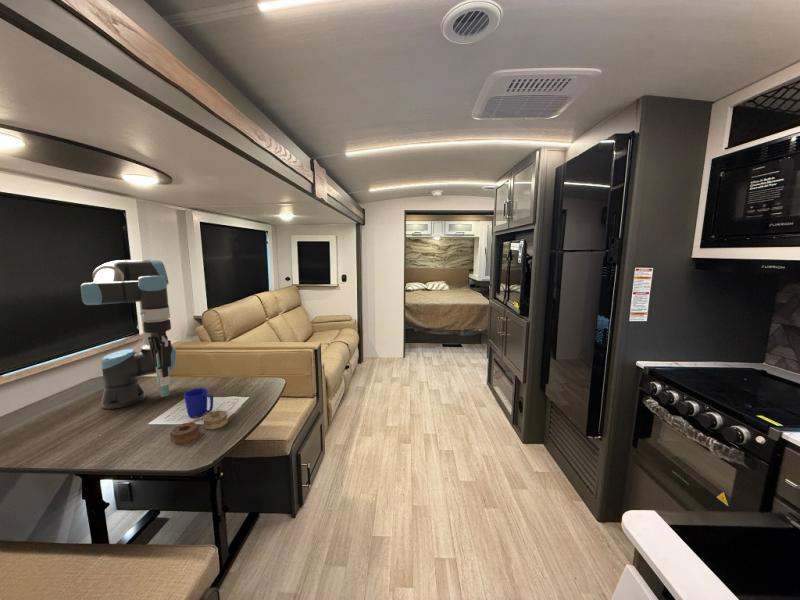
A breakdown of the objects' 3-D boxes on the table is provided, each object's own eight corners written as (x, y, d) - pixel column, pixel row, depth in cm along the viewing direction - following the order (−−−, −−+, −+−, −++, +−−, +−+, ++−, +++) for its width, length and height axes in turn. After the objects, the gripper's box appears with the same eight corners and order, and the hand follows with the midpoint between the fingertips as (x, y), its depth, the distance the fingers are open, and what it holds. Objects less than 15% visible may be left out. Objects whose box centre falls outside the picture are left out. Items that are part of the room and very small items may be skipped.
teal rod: (159, 395, 112) (154, 352, 109) (167, 393, 114) (162, 350, 112) (162, 397, 110) (157, 353, 108) (170, 394, 112) (165, 351, 110)
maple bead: (199, 428, 121) (198, 419, 121) (214, 417, 129) (213, 409, 129) (217, 430, 120) (216, 421, 120) (231, 419, 128) (231, 411, 127)
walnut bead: (168, 438, 114) (167, 430, 114) (191, 428, 121) (191, 420, 120) (178, 446, 110) (177, 436, 110) (202, 435, 117) (201, 426, 116)
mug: (206, 421, 126) (203, 398, 125) (181, 418, 129) (178, 395, 127) (221, 411, 134) (219, 389, 133) (197, 408, 137) (195, 387, 135)
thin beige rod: (174, 429, 120) (174, 428, 120) (173, 429, 121) (173, 427, 120) (213, 414, 132) (213, 412, 132) (212, 413, 133) (212, 411, 132)
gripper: (135, 319, 109) (143, 383, 113) (152, 324, 101) (159, 392, 104) (161, 316, 116) (167, 376, 119) (178, 320, 107) (185, 385, 110)
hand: (164, 384), depth 111 cm, fingers closed on teal rod, 2 cm apart
